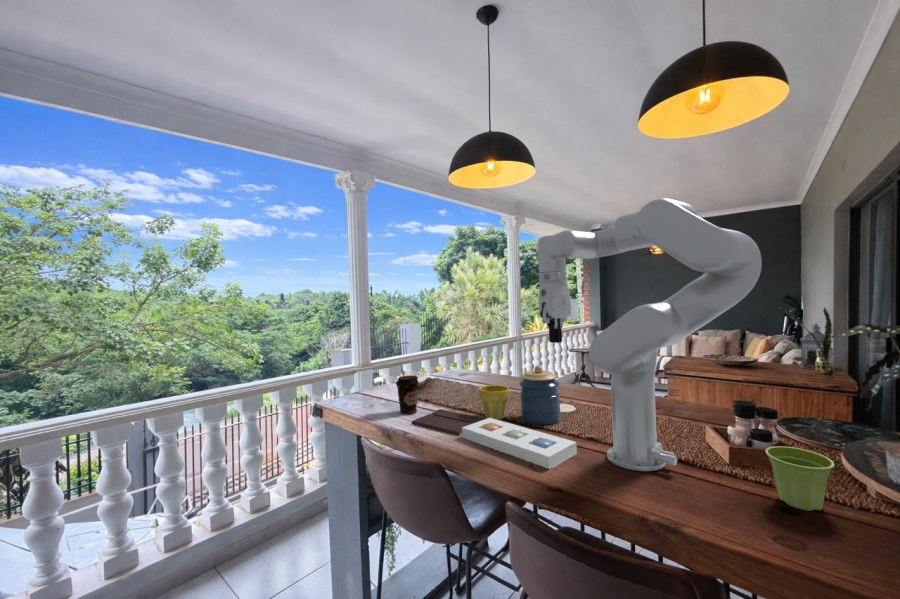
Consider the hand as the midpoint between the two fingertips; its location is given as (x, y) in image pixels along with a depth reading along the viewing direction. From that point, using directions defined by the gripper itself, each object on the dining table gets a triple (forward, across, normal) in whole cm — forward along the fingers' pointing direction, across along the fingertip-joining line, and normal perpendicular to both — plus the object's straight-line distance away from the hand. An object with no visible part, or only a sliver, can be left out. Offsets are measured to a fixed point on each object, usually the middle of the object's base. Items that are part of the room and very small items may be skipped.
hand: (555, 342), depth 108 cm
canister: (+27, +9, +13) cm, 32 cm away
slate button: (+27, -14, -4) cm, 31 cm away
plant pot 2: (+27, 0, -51) cm, 58 cm away
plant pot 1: (+27, +1, +26) cm, 38 cm away
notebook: (+28, -14, +33) cm, 45 cm away
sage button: (+27, -14, +5) cm, 31 cm away
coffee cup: (+27, -16, +53) cm, 62 cm away
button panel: (+27, -14, +5) cm, 31 cm away
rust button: (+27, -14, +14) cm, 33 cm away
